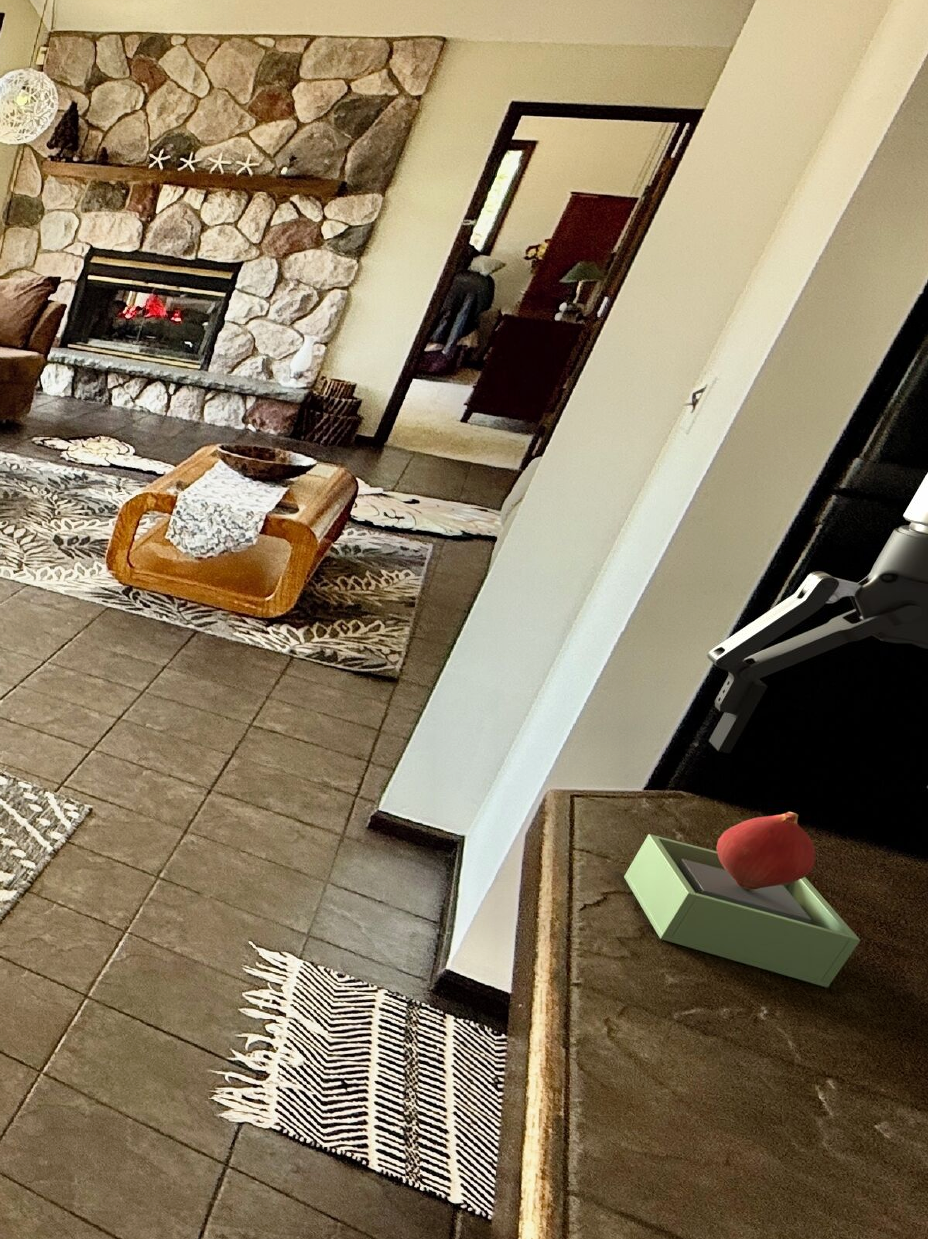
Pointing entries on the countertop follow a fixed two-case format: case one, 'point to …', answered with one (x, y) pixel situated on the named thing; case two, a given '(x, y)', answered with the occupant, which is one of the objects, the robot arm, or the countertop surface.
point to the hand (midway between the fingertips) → (825, 770)
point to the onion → (766, 851)
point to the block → (741, 891)
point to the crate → (738, 918)
